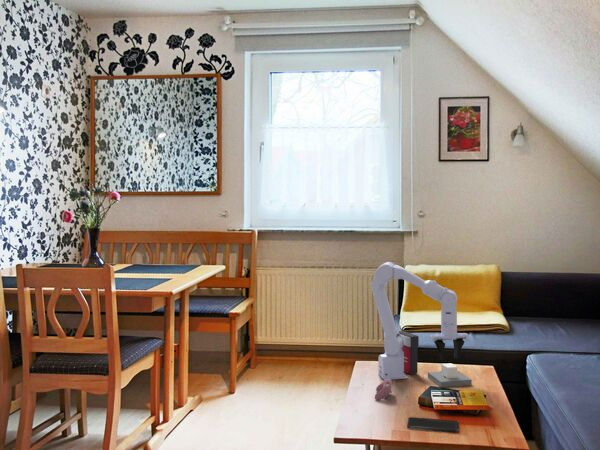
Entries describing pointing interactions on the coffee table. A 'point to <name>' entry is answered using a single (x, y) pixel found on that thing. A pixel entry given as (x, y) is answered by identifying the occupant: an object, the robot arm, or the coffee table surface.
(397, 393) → the coffee table surface
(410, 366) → the dark grey red box
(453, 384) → the socket
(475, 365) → the coffee table surface
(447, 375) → the white rectangular box
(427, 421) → the phone
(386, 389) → the pink lumpy figure
